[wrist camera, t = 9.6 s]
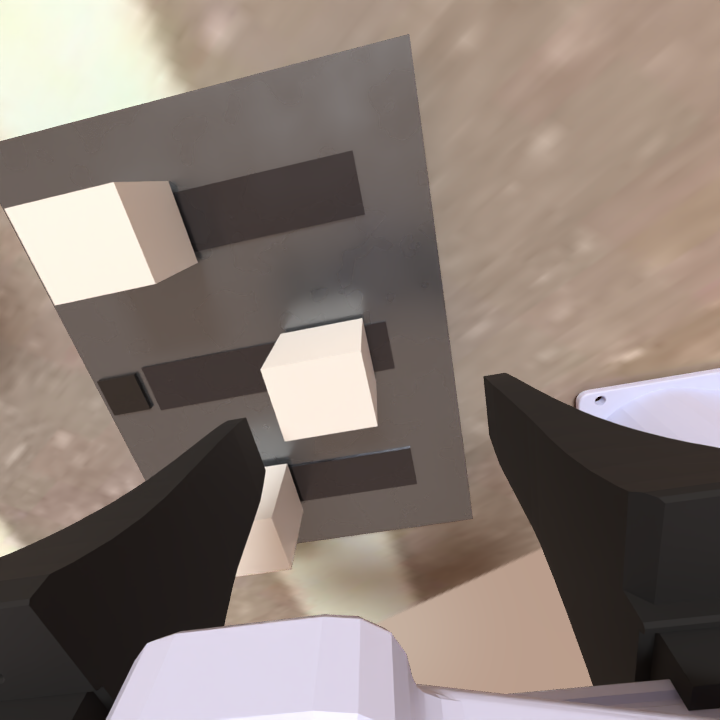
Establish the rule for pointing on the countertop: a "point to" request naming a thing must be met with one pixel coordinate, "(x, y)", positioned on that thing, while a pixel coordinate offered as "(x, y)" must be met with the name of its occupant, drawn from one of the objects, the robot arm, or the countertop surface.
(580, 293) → the countertop surface
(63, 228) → the switch
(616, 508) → the robot arm
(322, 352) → the switch
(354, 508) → the console
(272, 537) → the switch
